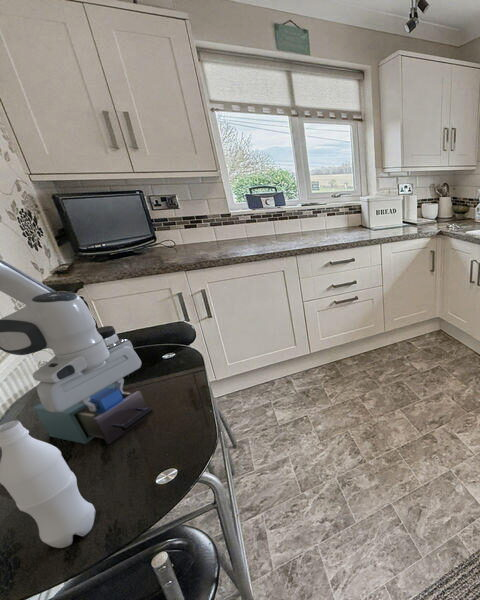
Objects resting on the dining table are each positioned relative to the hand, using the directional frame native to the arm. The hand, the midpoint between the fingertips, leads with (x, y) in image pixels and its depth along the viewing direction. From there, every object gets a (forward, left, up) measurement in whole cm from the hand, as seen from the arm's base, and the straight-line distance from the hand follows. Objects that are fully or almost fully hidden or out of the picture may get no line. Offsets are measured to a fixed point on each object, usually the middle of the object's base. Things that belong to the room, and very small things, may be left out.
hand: (107, 402), depth 84 cm
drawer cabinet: (-11, 0, -9) cm, 14 cm away
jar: (-48, +30, -9) cm, 57 cm away
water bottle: (+21, -23, -9) cm, 33 cm away
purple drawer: (0, 0, -8) cm, 8 cm away
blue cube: (0, 0, -2) cm, 2 cm away
